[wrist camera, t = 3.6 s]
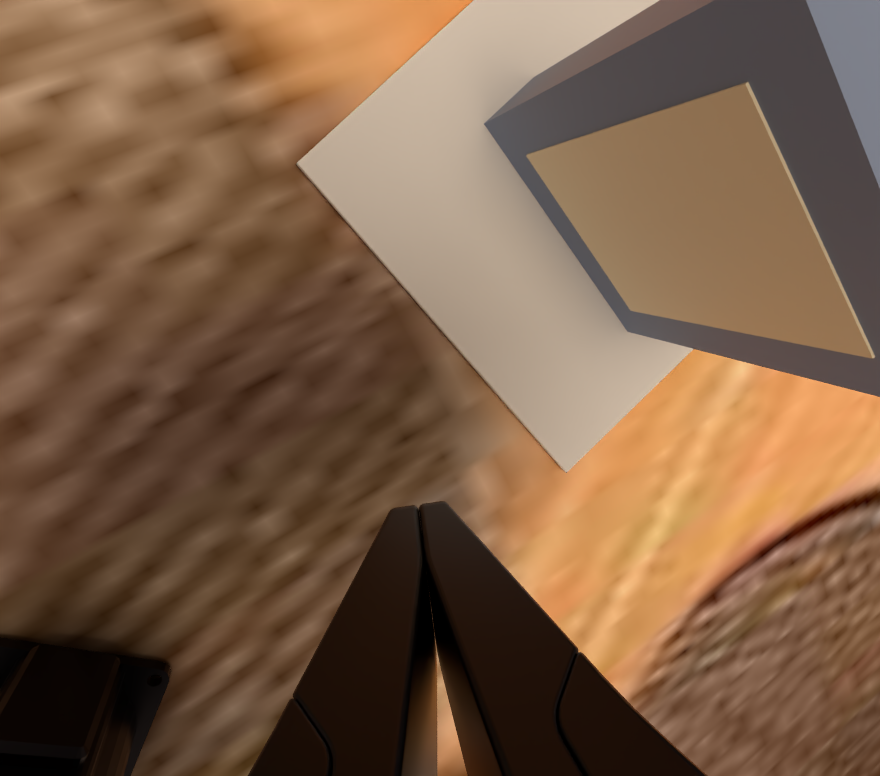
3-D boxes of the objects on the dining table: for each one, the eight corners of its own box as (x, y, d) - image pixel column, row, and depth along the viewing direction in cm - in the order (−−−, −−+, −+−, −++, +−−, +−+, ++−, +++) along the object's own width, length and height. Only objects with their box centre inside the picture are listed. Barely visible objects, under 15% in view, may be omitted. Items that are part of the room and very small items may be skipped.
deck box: (626, 332, 23) (967, 422, 12) (482, 125, 19) (786, -37, 8) (668, 292, 23) (1047, 342, 12) (533, 77, 19) (906, -150, 8)
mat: (561, 469, 24) (566, 472, 24) (296, 164, 18) (297, 162, 17) (937, 102, 25) (948, 100, 25) (808, -306, 19) (818, -318, 18)
